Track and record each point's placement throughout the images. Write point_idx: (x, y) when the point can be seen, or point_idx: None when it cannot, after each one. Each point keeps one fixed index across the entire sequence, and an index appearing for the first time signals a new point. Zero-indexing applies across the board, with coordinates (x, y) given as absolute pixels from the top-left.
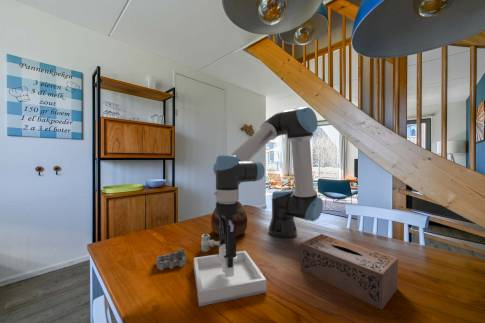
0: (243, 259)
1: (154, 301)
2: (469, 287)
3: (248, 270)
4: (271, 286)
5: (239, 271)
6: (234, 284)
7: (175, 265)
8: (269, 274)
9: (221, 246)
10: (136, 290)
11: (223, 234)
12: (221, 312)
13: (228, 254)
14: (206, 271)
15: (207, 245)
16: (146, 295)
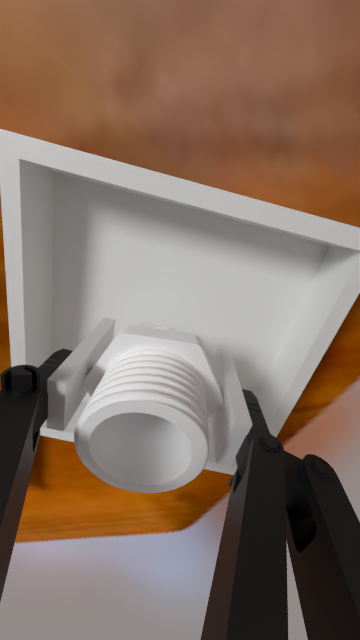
0: (52, 173)
1: (163, 496)
2: None
3: (169, 213)
4: (333, 176)
5: (155, 262)
6: (300, 385)
7: None
8: (250, 102)
9: (108, 469)
10: (102, 512)
11: (5, 562)
12: (302, 406)
13: (313, 529)
14: None
15: None
16: (132, 503)
